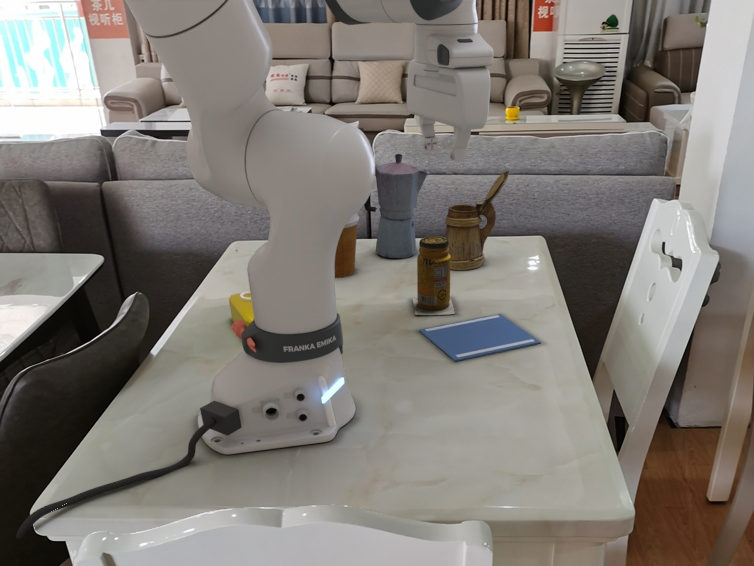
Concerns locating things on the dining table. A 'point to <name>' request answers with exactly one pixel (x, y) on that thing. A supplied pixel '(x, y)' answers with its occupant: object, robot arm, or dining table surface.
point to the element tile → (241, 307)
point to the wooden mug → (471, 229)
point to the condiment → (433, 277)
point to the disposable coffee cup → (346, 248)
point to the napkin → (478, 337)
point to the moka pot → (397, 207)
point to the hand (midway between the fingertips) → (443, 154)
